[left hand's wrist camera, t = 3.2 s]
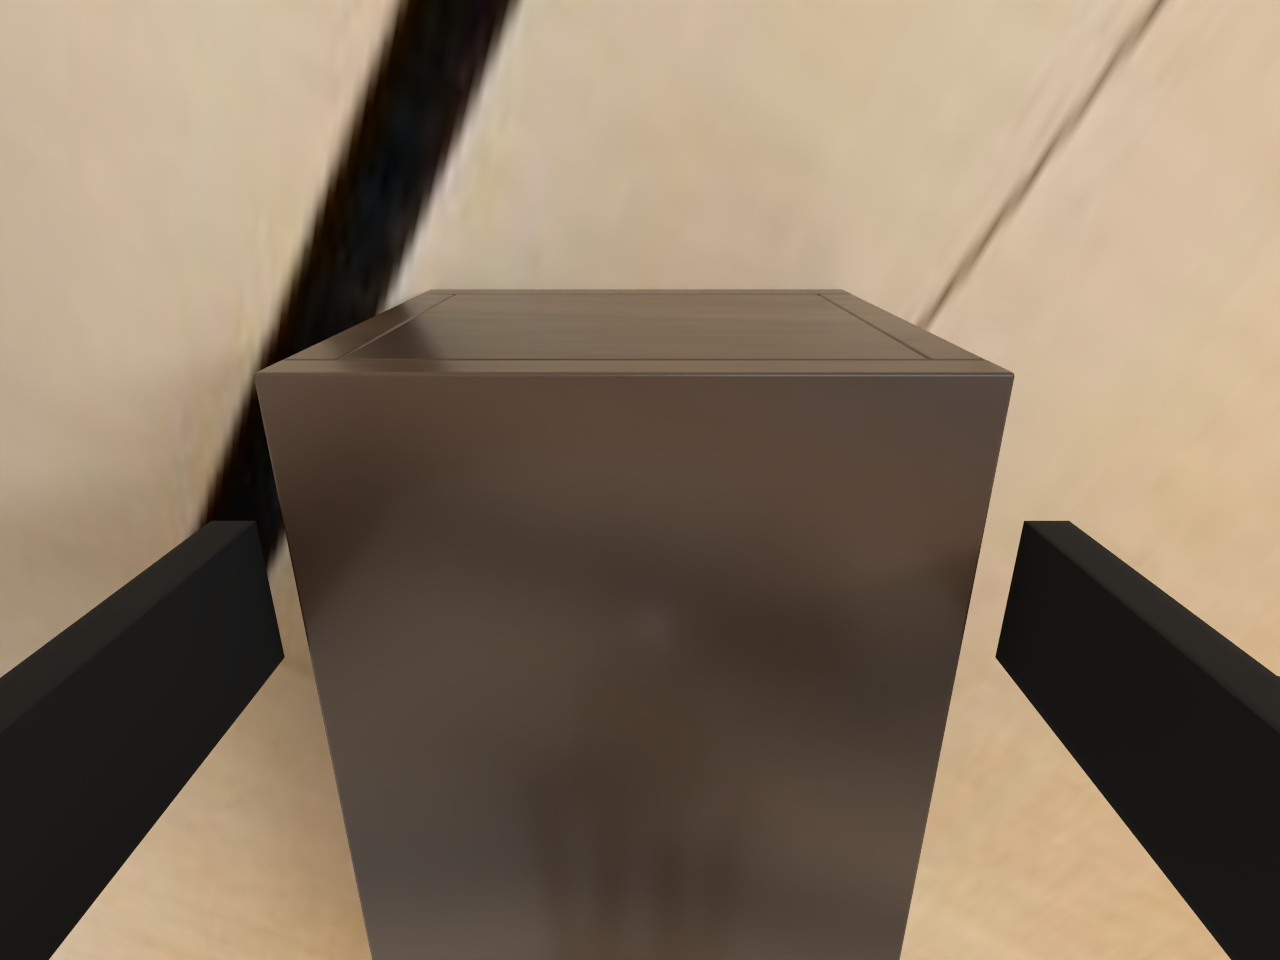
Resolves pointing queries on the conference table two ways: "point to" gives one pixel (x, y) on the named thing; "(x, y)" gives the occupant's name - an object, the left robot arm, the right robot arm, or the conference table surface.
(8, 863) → the left robot arm
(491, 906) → the cabinet
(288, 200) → the conference table surface
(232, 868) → the conference table surface
